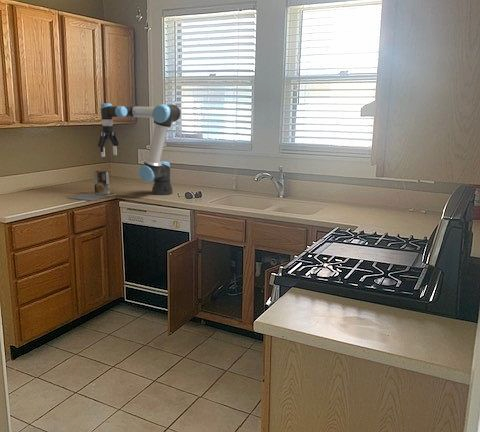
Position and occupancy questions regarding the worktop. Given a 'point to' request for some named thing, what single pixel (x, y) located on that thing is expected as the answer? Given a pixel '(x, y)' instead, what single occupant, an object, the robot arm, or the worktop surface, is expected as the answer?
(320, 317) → the worktop surface
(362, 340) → the worktop surface
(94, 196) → the mat
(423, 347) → the worktop surface
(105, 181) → the coffee box
